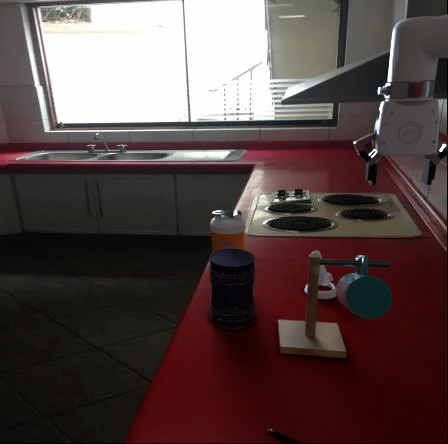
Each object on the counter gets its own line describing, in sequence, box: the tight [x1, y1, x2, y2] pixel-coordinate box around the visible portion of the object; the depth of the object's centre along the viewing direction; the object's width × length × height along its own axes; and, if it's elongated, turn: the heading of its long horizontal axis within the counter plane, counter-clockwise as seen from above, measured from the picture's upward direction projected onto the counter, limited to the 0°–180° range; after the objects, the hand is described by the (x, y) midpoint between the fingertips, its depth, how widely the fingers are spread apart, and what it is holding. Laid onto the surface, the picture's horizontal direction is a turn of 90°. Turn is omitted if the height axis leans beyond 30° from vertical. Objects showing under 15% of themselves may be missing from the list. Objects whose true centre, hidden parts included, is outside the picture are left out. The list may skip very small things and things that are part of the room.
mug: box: [335, 254, 393, 320], centre depth 76 cm, size 11×7×9 cm
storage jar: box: [208, 249, 256, 330], centre depth 93 cm, size 10×10×15 cm
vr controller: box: [304, 250, 337, 300], centre depth 105 cm, size 8×12×7 cm
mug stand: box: [277, 253, 391, 359], centre depth 81 cm, size 19×10×19 cm, turn 78°
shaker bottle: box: [209, 209, 247, 253], centre depth 108 cm, size 9×9×20 cm
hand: (398, 183), depth 81 cm, fingers open, 9 cm apart
